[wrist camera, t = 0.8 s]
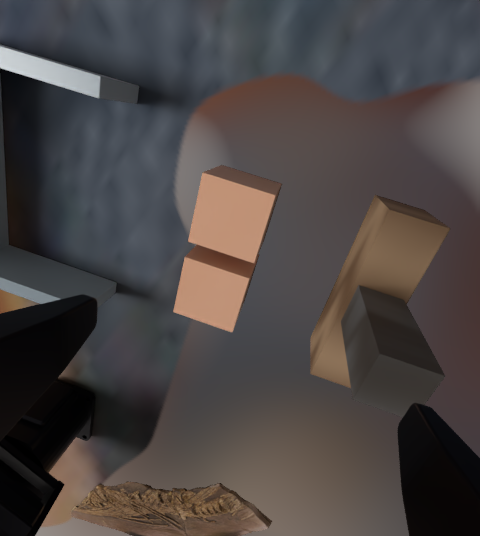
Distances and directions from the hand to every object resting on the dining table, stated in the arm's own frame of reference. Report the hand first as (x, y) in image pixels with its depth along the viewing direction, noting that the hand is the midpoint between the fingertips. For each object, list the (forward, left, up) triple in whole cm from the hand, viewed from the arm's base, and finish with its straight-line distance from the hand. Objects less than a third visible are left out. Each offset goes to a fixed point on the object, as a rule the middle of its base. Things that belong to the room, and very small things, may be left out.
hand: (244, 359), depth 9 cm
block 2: (-5, +3, -14) cm, 15 cm away
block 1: (0, +3, -14) cm, 14 cm away
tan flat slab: (-37, +3, -14) cm, 39 cm away
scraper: (-2, -6, -14) cm, 15 cm away
